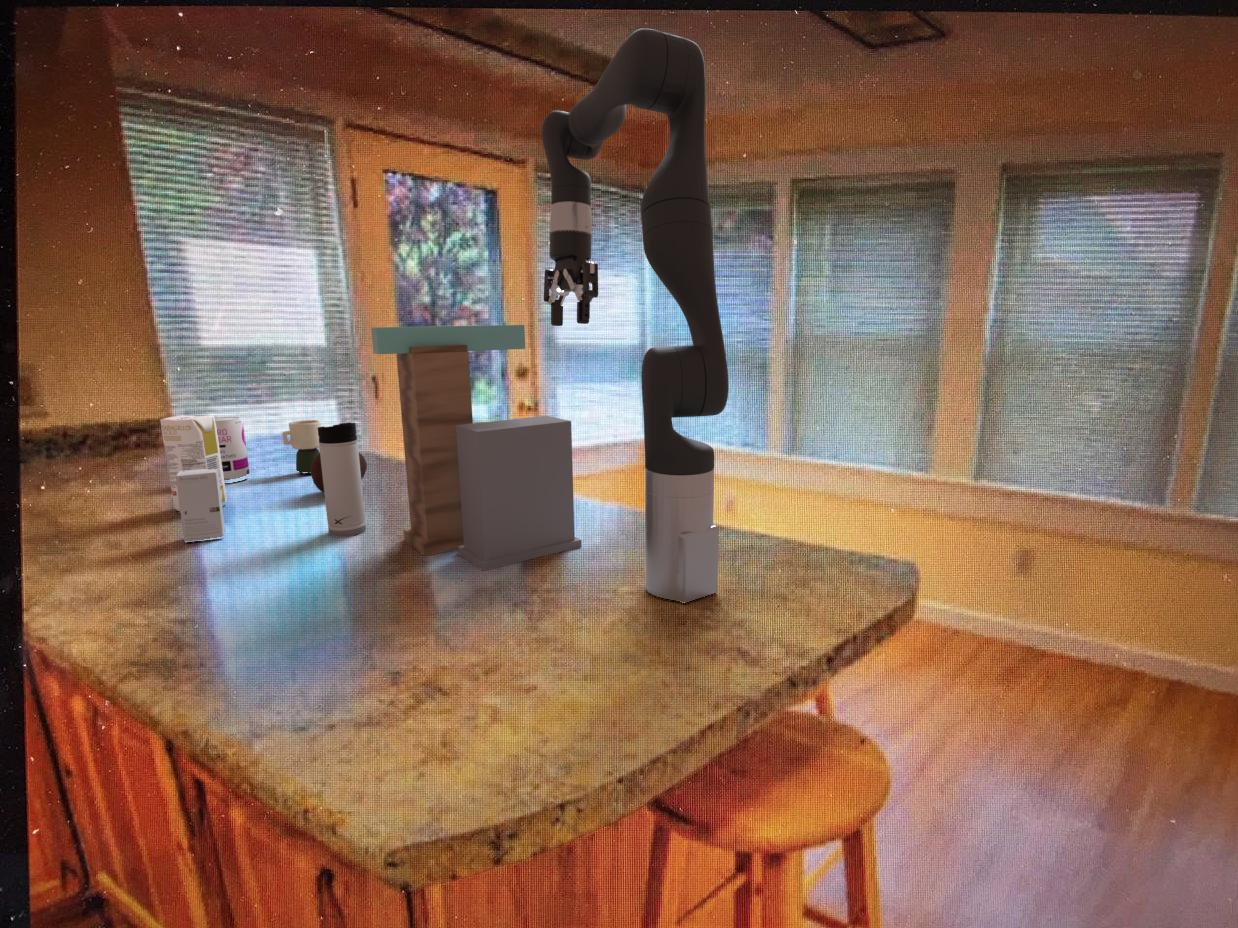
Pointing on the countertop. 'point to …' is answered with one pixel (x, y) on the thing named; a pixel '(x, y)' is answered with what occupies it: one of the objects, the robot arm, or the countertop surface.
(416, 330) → the teal bar
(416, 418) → the walnut stand
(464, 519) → the charcoal pedestal
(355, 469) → the travel mug
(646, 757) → the countertop surface
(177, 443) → the juice carton
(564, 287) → the robot arm
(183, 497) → the skincare box
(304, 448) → the character mug
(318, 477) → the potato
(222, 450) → the supplement can
